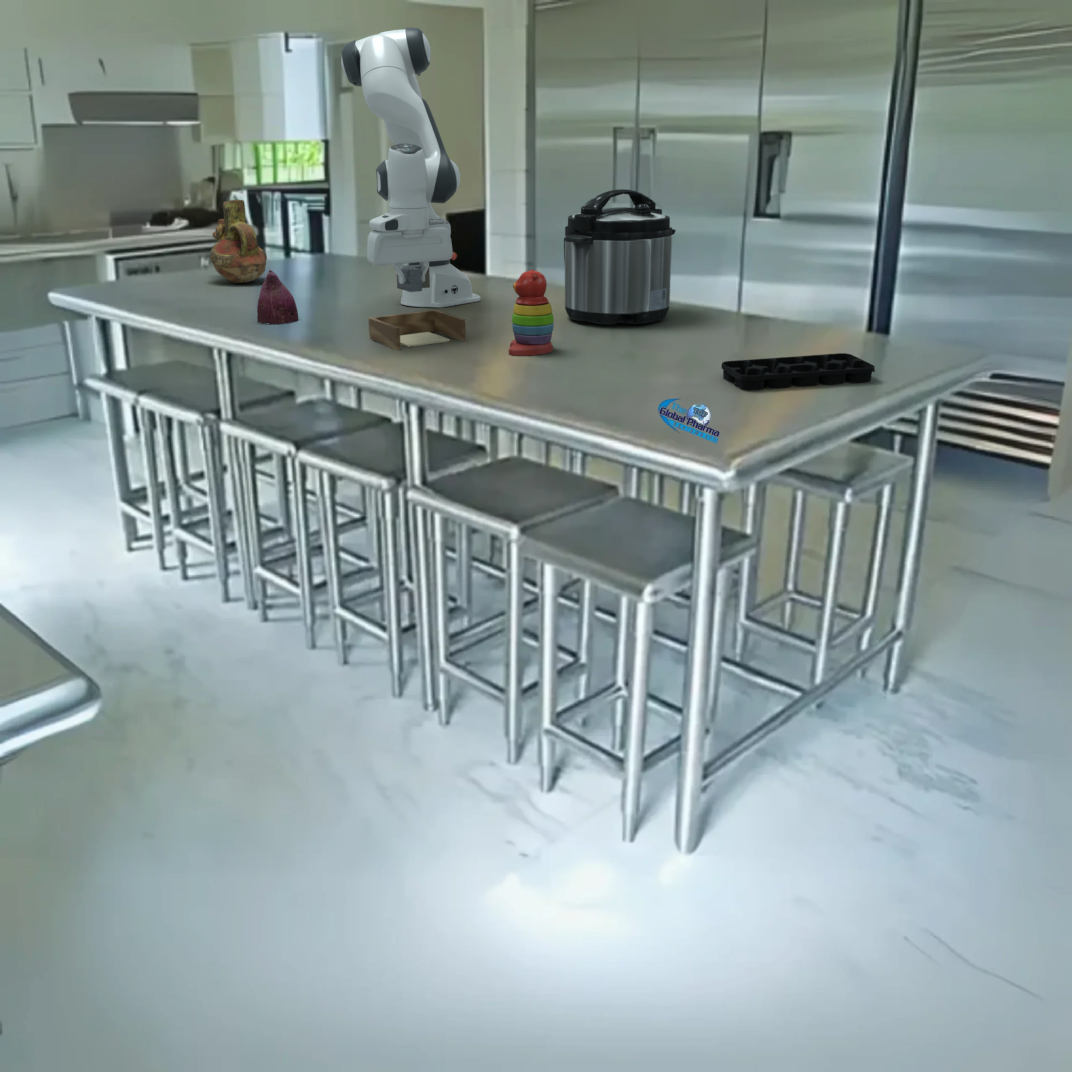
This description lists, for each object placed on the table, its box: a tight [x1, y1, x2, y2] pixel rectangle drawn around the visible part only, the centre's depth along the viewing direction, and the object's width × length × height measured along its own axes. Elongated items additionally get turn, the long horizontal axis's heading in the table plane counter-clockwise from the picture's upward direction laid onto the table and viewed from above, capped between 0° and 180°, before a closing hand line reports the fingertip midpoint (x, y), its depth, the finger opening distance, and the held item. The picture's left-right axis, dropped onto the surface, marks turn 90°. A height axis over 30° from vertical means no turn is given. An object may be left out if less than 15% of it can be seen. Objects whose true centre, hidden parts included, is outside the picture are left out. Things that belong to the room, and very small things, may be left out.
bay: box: [367, 309, 467, 351], centre depth 254 cm, size 18×15×5 cm
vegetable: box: [256, 269, 299, 325], centre depth 275 cm, size 10×10×15 cm
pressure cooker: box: [563, 188, 676, 325], centre depth 271 cm, size 30×28×32 cm
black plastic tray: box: [720, 352, 876, 391], centre depth 215 cm, size 18×30×4 cm, turn 115°
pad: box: [400, 332, 451, 348], centre depth 254 cm, size 11×11×1 cm
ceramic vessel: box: [209, 199, 268, 284], centre depth 333 cm, size 17×26×25 cm, turn 43°
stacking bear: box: [508, 269, 555, 357], centre depth 239 cm, size 11×10×18 cm
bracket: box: [396, 265, 430, 292], centre depth 249 cm, size 7×7×5 cm
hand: (412, 282), depth 247 cm, fingers closed on bracket, 3 cm apart
